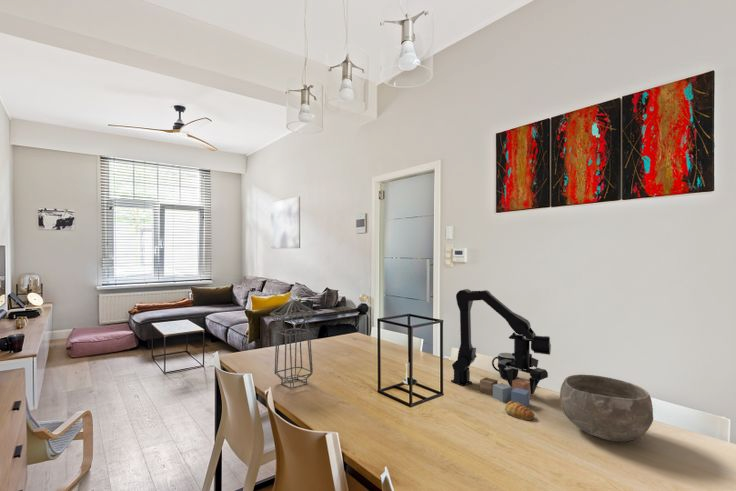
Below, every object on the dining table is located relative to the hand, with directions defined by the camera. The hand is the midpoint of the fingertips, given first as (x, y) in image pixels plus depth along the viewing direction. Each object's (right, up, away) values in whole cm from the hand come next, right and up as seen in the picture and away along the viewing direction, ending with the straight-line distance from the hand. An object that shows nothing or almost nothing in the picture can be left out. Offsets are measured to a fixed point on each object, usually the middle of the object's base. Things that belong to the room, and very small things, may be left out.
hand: (521, 390), depth 150 cm
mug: (+1, -2, +20) cm, 20 cm away
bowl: (+12, -1, -33) cm, 35 cm away
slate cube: (-10, -1, -5) cm, 11 cm away
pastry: (-9, -1, -19) cm, 21 cm away
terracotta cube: (0, -1, 0) cm, 1 cm away
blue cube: (-5, -1, -11) cm, 12 cm away
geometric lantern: (-93, -1, +9) cm, 93 cm away
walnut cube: (-13, -1, +1) cm, 13 cm away
